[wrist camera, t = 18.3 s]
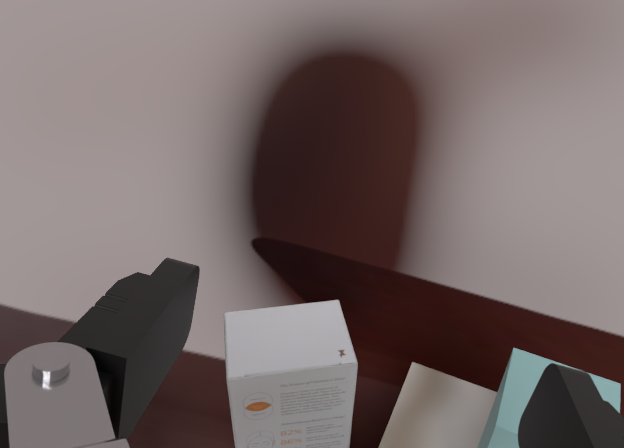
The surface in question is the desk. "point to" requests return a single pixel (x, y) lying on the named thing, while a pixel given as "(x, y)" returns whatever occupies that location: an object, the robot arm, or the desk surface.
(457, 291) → the desk surface
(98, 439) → the robot arm
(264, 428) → the small box
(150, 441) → the desk surface
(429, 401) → the beige slab
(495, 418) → the teal block
